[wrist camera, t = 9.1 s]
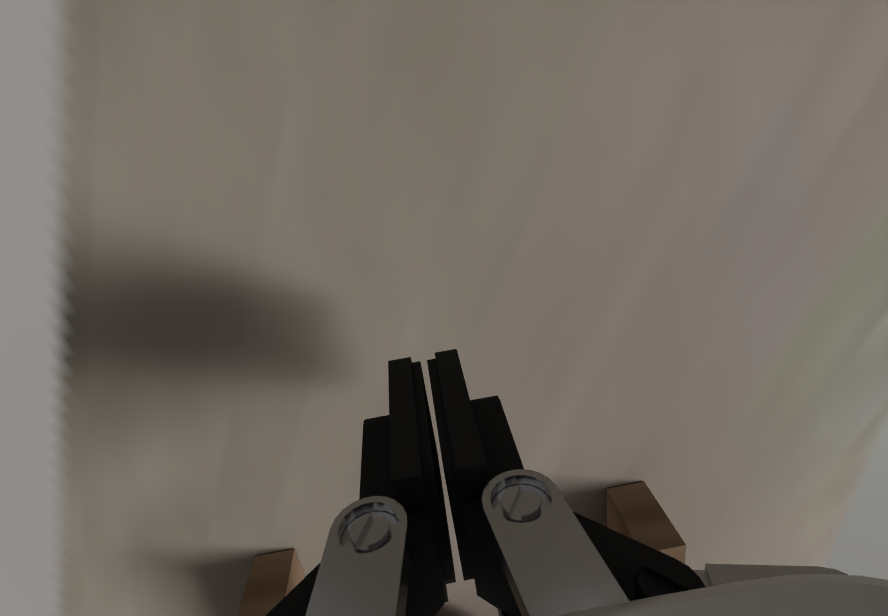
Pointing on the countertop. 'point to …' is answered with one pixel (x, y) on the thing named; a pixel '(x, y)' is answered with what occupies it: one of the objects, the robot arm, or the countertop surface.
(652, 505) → the corral
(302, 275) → the countertop surface
